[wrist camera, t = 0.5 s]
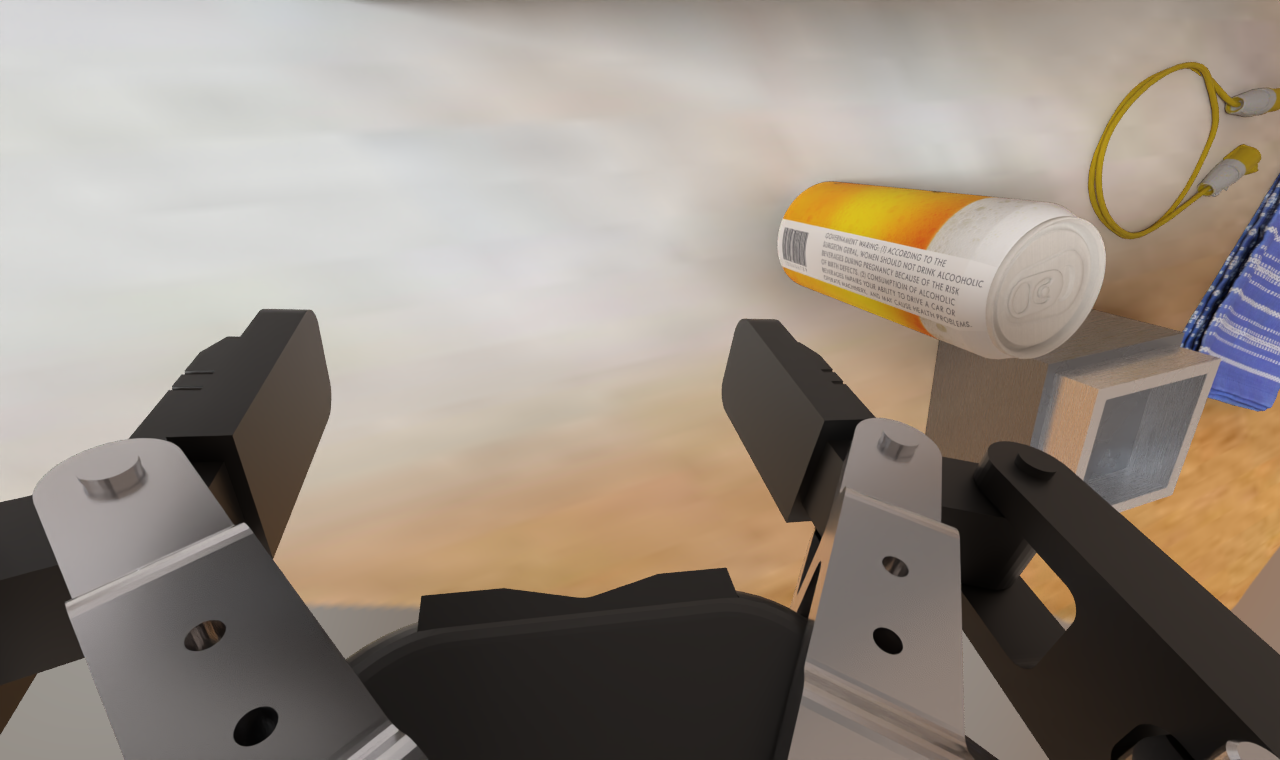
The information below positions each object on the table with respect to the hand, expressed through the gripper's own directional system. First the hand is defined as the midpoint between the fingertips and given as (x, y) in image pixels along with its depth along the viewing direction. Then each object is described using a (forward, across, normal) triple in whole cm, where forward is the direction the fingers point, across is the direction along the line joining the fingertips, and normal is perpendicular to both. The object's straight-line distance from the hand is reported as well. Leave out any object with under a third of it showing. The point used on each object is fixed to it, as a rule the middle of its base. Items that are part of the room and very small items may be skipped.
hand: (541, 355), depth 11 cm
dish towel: (+25, -65, +6) cm, 70 cm away
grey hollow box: (+19, -36, +16) cm, 44 cm away
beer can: (+21, -18, +4) cm, 27 cm away
